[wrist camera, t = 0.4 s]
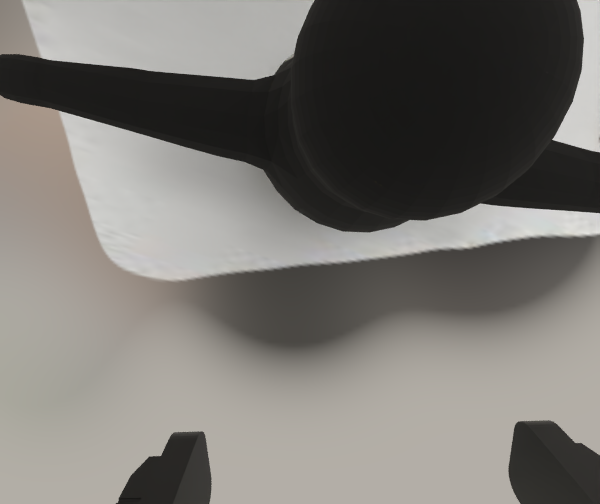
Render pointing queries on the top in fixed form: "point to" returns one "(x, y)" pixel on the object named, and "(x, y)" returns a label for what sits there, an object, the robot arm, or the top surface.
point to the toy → (371, 109)
